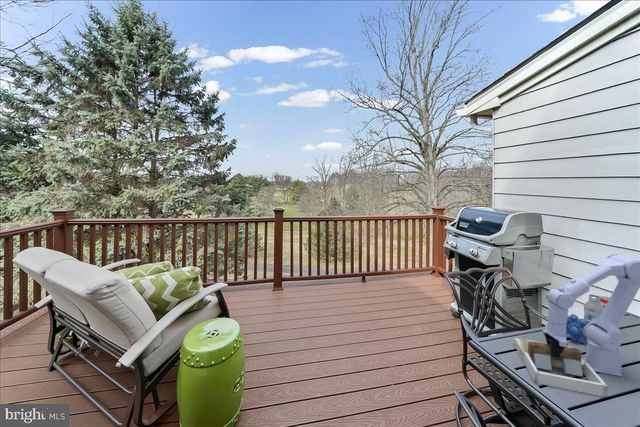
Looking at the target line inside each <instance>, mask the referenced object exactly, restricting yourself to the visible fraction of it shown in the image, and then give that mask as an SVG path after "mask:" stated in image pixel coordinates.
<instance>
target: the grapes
mask: <svg viewBox="0 0 640 427" xmlns="http://www.w3.org/2000/svg"><path fill="white" fill-rule="evenodd" d="M586 325H587V321H586V320H584V318H579V316H578V315H576V314H575V313H573V314H571V313H570V315H568V317H567V326H566V336H569V338H570V339H571V340H572V341H574V342H578V341H579V342H580V343H582V344H587V342H588V341H587V340H586V339H587V337H586V336H585V335H584V333H583V329H584V327H585V326H586Z"/></svg>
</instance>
